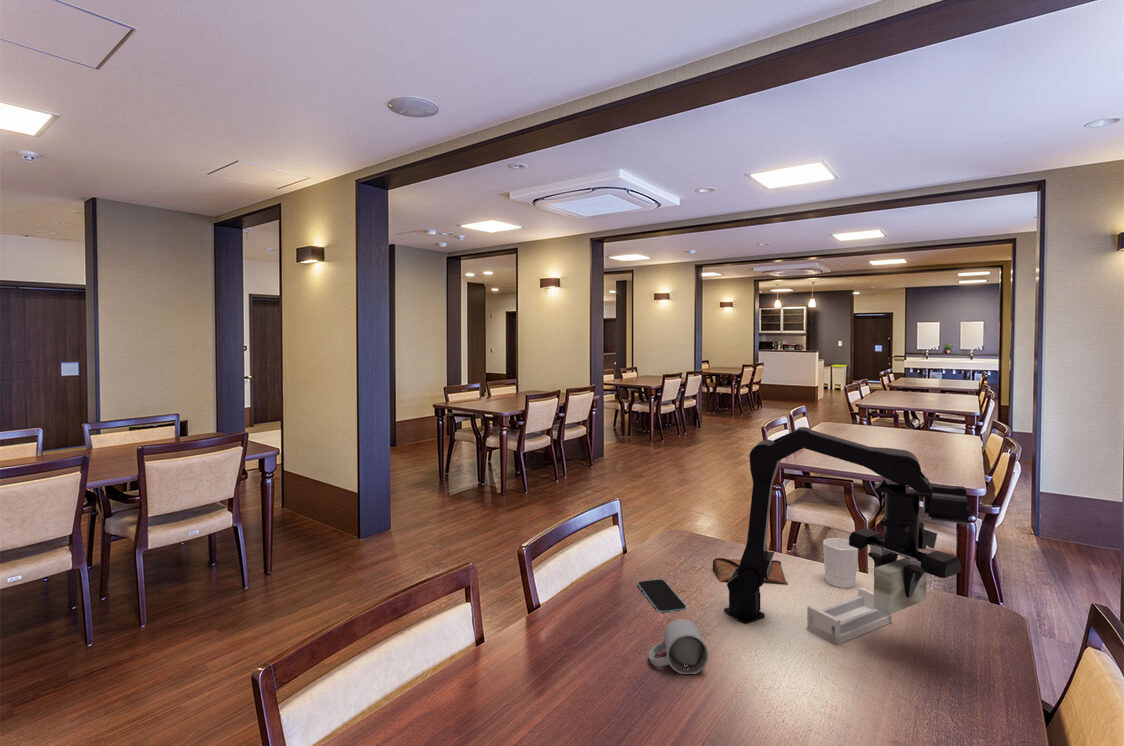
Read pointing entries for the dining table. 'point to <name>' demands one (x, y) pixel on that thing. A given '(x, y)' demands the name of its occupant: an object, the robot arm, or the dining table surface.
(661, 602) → the smartphone
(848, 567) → the white cup
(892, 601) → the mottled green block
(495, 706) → the dining table surface
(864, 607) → the cabinet track
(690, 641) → the ceramic mug
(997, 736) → the dining table surface
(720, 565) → the sunglasses case
